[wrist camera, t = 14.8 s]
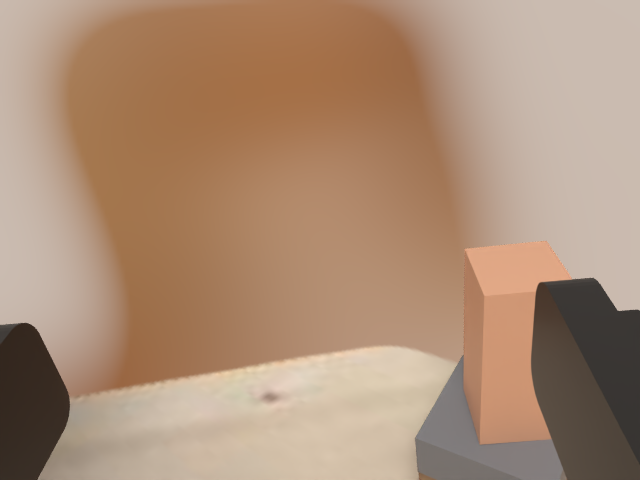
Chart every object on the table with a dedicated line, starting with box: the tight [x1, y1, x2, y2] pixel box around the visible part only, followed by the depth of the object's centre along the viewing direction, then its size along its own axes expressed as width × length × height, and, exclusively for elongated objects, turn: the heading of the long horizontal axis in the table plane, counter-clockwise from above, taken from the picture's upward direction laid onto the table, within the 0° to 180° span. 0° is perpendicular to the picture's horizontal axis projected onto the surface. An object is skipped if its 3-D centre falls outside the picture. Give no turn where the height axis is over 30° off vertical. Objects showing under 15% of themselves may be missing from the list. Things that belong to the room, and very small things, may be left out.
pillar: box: [463, 241, 572, 445], centre depth 36 cm, size 5×5×12 cm
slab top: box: [415, 355, 566, 480], centre depth 40 cm, size 9×9×4 cm
